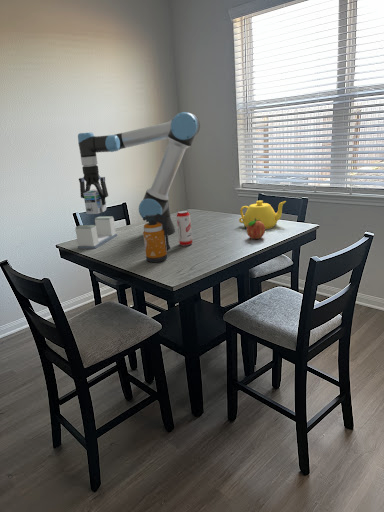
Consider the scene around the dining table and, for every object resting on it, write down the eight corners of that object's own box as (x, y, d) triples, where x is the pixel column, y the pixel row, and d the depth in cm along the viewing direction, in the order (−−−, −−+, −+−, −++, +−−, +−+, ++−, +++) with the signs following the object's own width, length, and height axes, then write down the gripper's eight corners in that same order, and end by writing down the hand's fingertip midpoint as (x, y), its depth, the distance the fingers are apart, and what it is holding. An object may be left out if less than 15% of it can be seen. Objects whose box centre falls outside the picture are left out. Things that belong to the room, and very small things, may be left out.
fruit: (269, 237, 187) (268, 216, 184) (257, 242, 180) (257, 221, 177) (254, 234, 193) (253, 215, 189) (242, 239, 186) (241, 219, 183)
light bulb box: (98, 214, 194) (95, 192, 190) (86, 214, 195) (82, 192, 192) (107, 209, 204) (104, 188, 200) (95, 209, 205) (92, 189, 202)
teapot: (288, 222, 210) (288, 197, 206) (284, 230, 195) (283, 203, 191) (243, 222, 219) (241, 198, 215) (235, 230, 204) (234, 204, 199)
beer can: (194, 242, 189) (191, 210, 184) (190, 246, 184) (186, 213, 179) (182, 242, 191) (179, 210, 186) (177, 246, 186) (174, 213, 181)
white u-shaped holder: (117, 235, 215) (114, 216, 211) (95, 248, 194) (91, 227, 191) (101, 235, 218) (97, 216, 214) (78, 248, 197) (74, 227, 194)
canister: (146, 257, 173) (141, 213, 167) (171, 254, 174) (166, 210, 167) (146, 264, 165) (140, 217, 158) (172, 261, 165) (167, 215, 159)
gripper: (111, 163, 193) (117, 209, 200) (76, 165, 198) (83, 209, 206) (104, 165, 186) (110, 212, 193) (68, 167, 191) (75, 213, 199)
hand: (96, 211), depth 199 cm, fingers closed on light bulb box, 7 cm apart
